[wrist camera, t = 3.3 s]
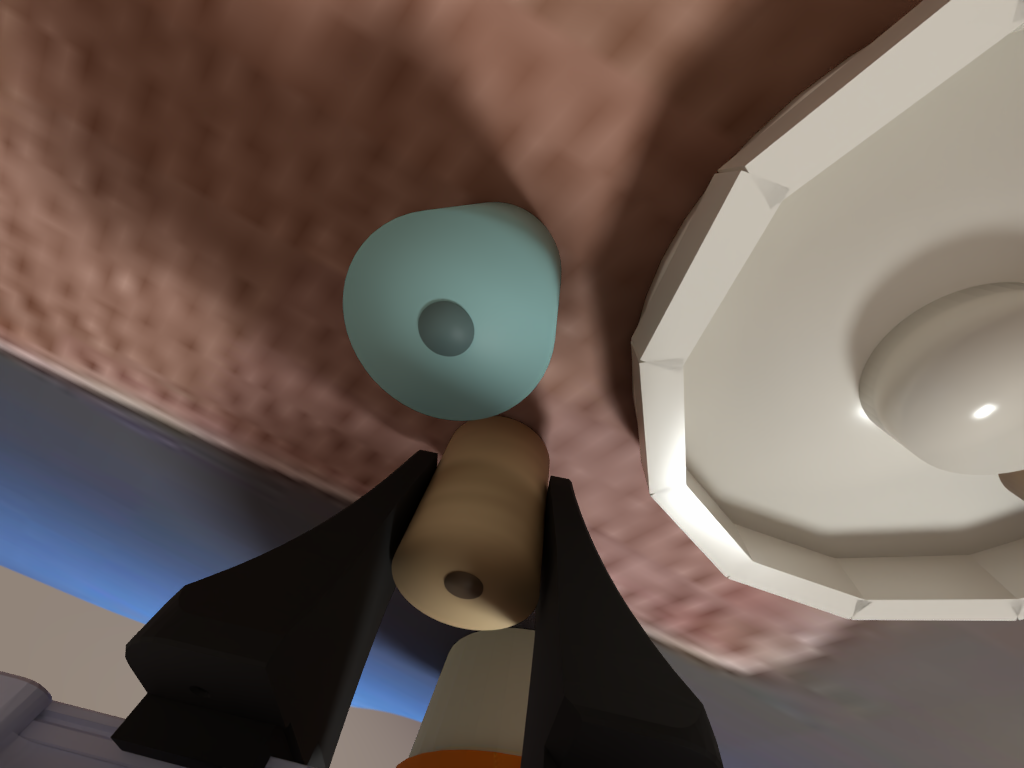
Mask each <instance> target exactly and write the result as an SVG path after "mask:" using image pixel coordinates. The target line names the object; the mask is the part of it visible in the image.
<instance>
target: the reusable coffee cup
mask: <svg viewBox="0 0 1024 768" xmlns="http://www.w3.org/2000/svg"><path fill="white" fill-rule="evenodd" d="M534 638H535V631H534V630H528V629H519V628H503V629H498V630H483V631H478V632H475V633H472V634H469V635H467V636H465V637H463V638H462V639H460V640H459V641H458V642H457V643H455V644H454V645H453V646H452V648H451V650H450V652H449V654H448V656H447V659H446V661H445V664H444V667H443V669H442V672H441V674H440V677H439V680H438V682H437V685H436V687H435V690H434V693H433V695H432V698H431V700H430V703H429V706H428V708H427V711H426V713H425V716H424V719H423V721H422V724H421V727H420V729H419V732H418V735H417V737H416V740H415V742H414V745H413V747H412V750H411V753H410V755H409V758H408V759H406V760H405V761H403V762H401V763H400V764H398V765H397V767H396V768H520V766H521V757H522V749H523V740H524V731H525V722H526V714H527V705H528V695H529V686H530V677H531V667H532V658H533V648H534Z"/></svg>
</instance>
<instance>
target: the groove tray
mask: <svg viewBox="0 0 1024 768" xmlns="http://www.w3.org/2000/svg"><path fill="white" fill-rule="evenodd" d="M718 172H719V173H716V174H714V176H713V178H712V180H711V182H710V184H709V186H708V188H707V189H706V191H705V192H704V194H703V195H702V196H701V198H700V199H699V200H698V202H697V203H696V205H695V206H694V207H693V209H692V210H691V212H690V213H689V214H688V216H687V217H686V218H685V220H684V221H683V223H682V225H681V227H680V228H679V230H678V232H677V234H676V235H675V237H674V239H673V241H672V242H671V244H670V246H669V248H668V249H667V251H666V253H665V255H664V257H663V258H662V260H661V262H660V265H659V267H658V270H657V272H656V274H655V277H654V279H653V281H652V284H651V286H650V289H649V291H648V293H647V296H646V299H645V302H644V306H643V309H642V313H641V317H640V320H639V324H638V326H637V328H636V330H635V332H634V334H633V336H632V338H631V340H632V341H631V352H632V394H633V400H634V406H635V412H636V418H637V422H638V432H639V443H640V455H641V463H642V467H643V470H644V474H645V478H646V482H647V485H648V489H649V493H650V495H651V497H652V498H653V499H654V500H655V501H656V502H657V503H658V504H659V505H660V506H661V508H662V509H663V510H664V511H665V512H666V513H667V514H668V515H669V516H670V517H671V518H672V519H673V521H674V522H675V523H676V524H677V525H678V526H679V527H680V528H681V529H682V530H683V531H684V532H685V533H686V535H687V536H688V537H689V538H690V539H691V540H692V541H693V542H694V543H695V544H696V545H697V546H698V548H699V549H700V550H701V551H702V552H703V553H704V554H705V555H706V556H707V557H708V558H709V559H710V561H711V562H712V563H713V564H714V565H715V566H716V567H717V568H718V569H719V570H720V571H721V572H722V574H723V575H724V576H725V577H727V578H728V579H731V580H734V581H737V582H740V583H743V584H746V585H749V586H752V587H755V588H758V589H761V590H764V591H766V592H769V593H772V594H775V595H778V596H781V597H784V598H787V599H790V600H793V601H796V602H799V603H802V604H805V605H808V606H811V607H814V608H817V609H820V610H823V611H825V612H828V613H831V614H834V615H837V616H840V617H843V618H846V619H850V618H851V619H852V620H982V621H1016V619H1018V620H1022V619H1024V501H1023V500H1022V499H1020V498H1019V497H1017V496H1016V495H1014V494H1013V493H1012V492H1010V491H1009V490H1008V489H1007V488H1005V487H1004V485H1003V484H1002V482H1001V481H1000V478H999V476H998V474H1002V473H1009V472H1015V471H1020V470H1024V0H923V1H922V2H921V3H919V4H918V5H917V6H916V7H915V8H913V9H912V10H911V11H910V12H909V13H907V14H906V15H905V16H904V17H902V18H901V19H900V20H899V21H898V22H896V23H895V24H894V25H893V26H892V27H890V28H889V29H888V30H887V31H886V32H884V33H883V34H882V35H881V36H879V37H878V38H877V39H876V40H875V41H873V42H872V43H871V44H870V45H868V46H866V47H865V48H863V49H861V50H860V51H858V52H857V53H855V54H853V55H852V56H850V57H848V58H847V59H846V60H844V61H843V62H842V63H840V64H839V65H838V66H836V67H835V68H834V69H832V70H831V71H830V72H828V73H827V74H826V75H824V76H823V77H822V78H820V79H819V80H818V81H816V82H815V83H814V84H812V85H811V86H810V87H808V88H807V89H806V90H804V91H803V92H802V93H801V94H799V95H798V96H797V97H795V98H794V99H793V100H792V101H791V102H790V103H789V104H788V105H786V106H785V107H784V108H783V109H782V110H781V111H780V112H779V113H778V114H777V115H776V116H774V117H773V118H772V119H771V120H770V121H769V122H768V123H767V124H766V125H765V126H764V127H762V128H761V129H760V130H759V131H758V132H757V133H756V134H755V135H754V136H753V137H752V138H750V140H749V141H748V142H747V143H746V144H745V145H744V146H743V147H742V148H741V150H740V151H739V152H738V153H737V154H736V155H735V156H734V157H733V158H732V159H730V160H729V161H728V162H727V163H725V164H724V165H723V166H722V167H721V168H719V169H718Z"/></svg>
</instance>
